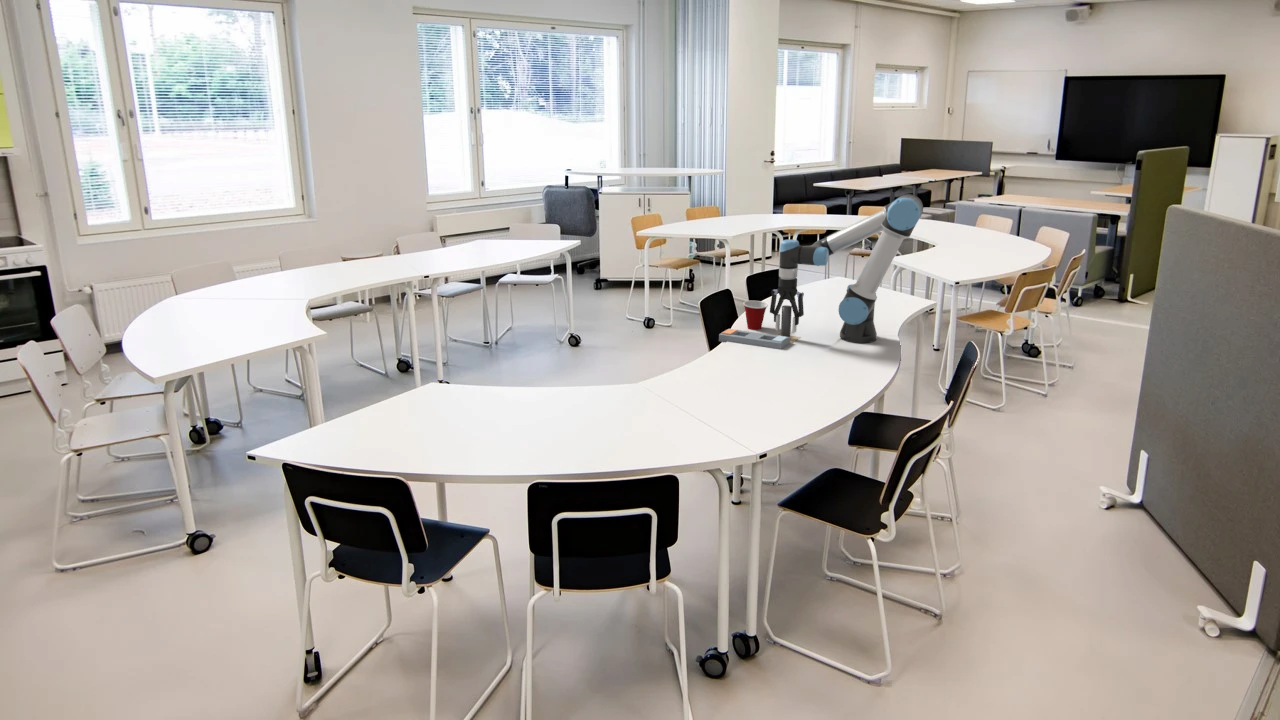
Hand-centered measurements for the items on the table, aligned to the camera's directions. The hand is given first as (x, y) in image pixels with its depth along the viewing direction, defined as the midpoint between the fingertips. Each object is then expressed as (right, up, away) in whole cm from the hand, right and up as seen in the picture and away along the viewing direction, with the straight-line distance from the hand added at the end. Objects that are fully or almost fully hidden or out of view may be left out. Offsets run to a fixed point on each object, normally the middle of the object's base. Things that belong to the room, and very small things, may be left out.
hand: (785, 330), depth 348 cm
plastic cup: (-11, +1, +18) cm, 21 cm away
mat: (0, -4, +1) cm, 4 cm away
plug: (0, -3, +1) cm, 3 cm away
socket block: (-14, -5, -2) cm, 15 cm away
